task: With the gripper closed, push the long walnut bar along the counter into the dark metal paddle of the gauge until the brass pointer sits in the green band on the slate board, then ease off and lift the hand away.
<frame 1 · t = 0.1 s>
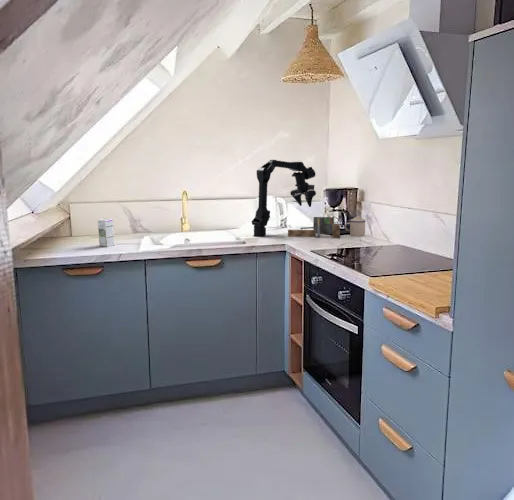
hand: (305, 206, 312), 15 cm above the worktop, tool pointing down, fingers open, 9 cm apart
gauge housing: (318, 236, 292), on the worktop
teacup with lid: (354, 235, 296), on the worktop
gauge paddle: (318, 227, 294), point 5 cm above the worktop, slide at 0.0 cm
walnut bar: (301, 237, 293), on the worktop
syrup box: (107, 246, 266), on the worktop
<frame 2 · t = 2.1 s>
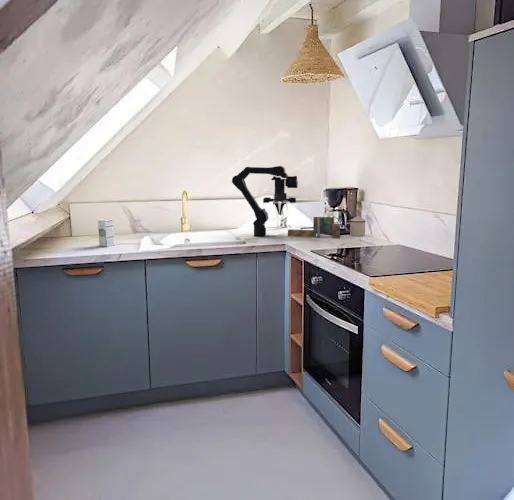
hand: (279, 214, 292), 13 cm above the worktop, tool pointing down, fingers closed
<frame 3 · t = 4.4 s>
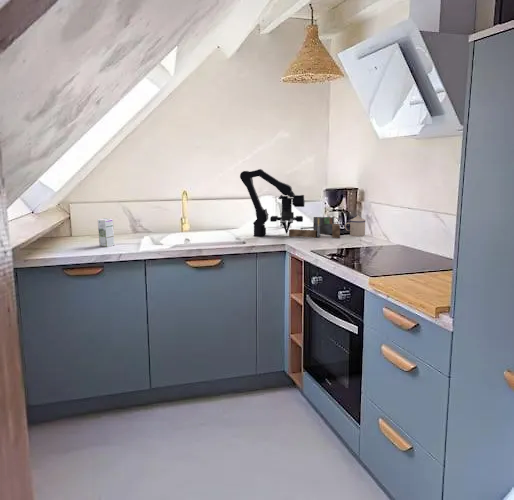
hand: (286, 233, 293), 2 cm above the worktop, tool pointing down, fingers closed
walnut bar: (303, 236, 293), on the worktop, touching gripper
everything else where it was.
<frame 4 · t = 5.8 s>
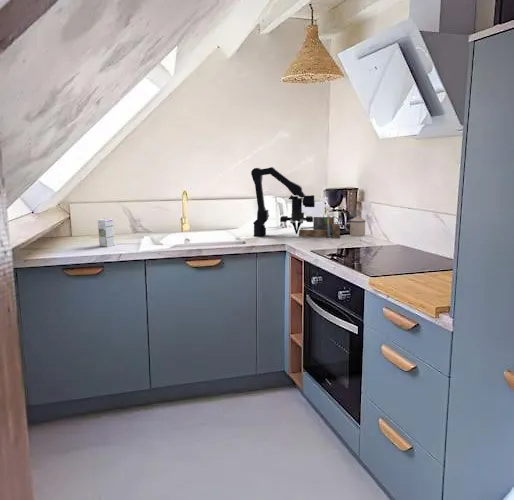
hand: (296, 233, 293), 2 cm above the worktop, tool pointing down, fingers closed
gauge paddle: (328, 227, 293), point 5 cm above the worktop, slide at 5.7 cm
walnut bar: (313, 236, 293), on the worktop
everything else where it was.
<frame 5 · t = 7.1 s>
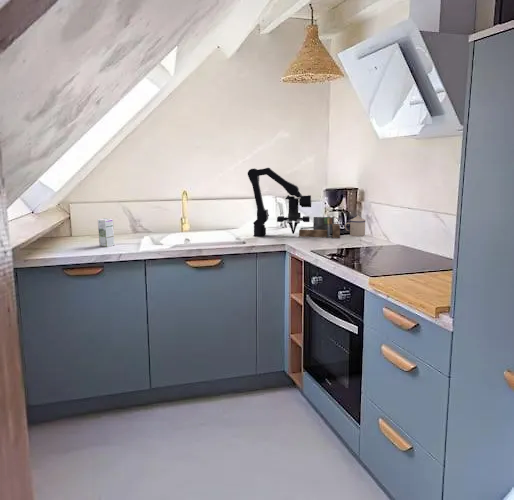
hand: (293, 233, 293), 1 cm above the worktop, tool pointing down, fingers closed
nothing on the worktop moved.
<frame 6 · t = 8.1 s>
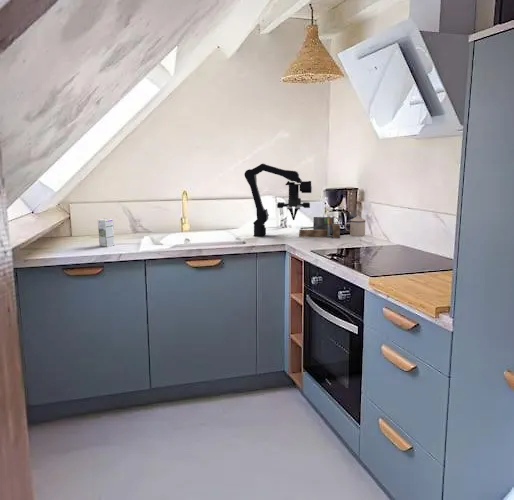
hand: (293, 220, 292), 10 cm above the worktop, tool pointing down, fingers closed
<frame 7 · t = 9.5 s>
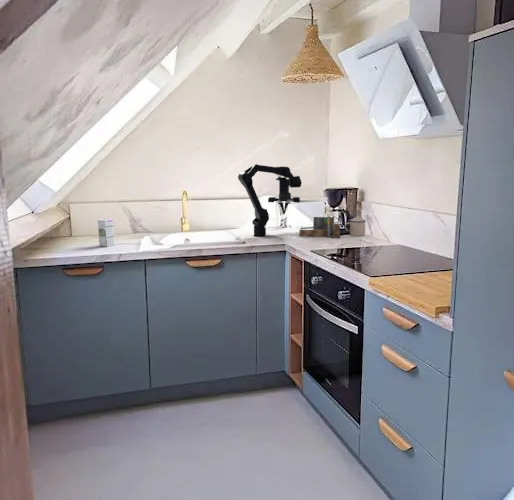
hand: (284, 214, 301), 12 cm above the worktop, tool pointing down, fingers closed
nothing on the worktop moved.
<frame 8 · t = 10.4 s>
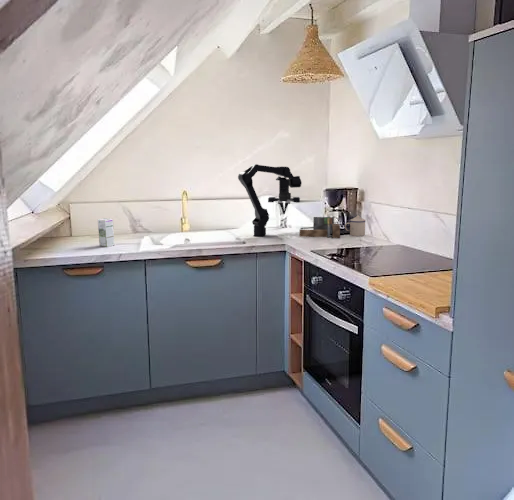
hand: (284, 214, 301), 12 cm above the worktop, tool pointing down, fingers closed
nothing on the worktop moved.
at the end: gauge paddle slide at 5.8 cm; walnut bar 1.2 cm from the target spot, on the worktop; the gripper is holding nothing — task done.
